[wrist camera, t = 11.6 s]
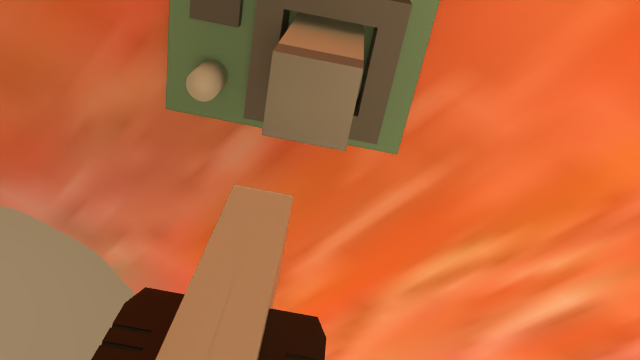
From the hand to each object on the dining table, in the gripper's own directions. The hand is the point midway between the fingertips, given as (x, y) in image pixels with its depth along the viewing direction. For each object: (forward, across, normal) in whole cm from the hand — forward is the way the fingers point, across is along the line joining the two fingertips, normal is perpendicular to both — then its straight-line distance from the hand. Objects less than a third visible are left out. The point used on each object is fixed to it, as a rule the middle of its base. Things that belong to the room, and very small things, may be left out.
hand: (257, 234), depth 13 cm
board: (+22, -1, 0) cm, 22 cm away
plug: (+21, +1, 0) cm, 21 cm away
